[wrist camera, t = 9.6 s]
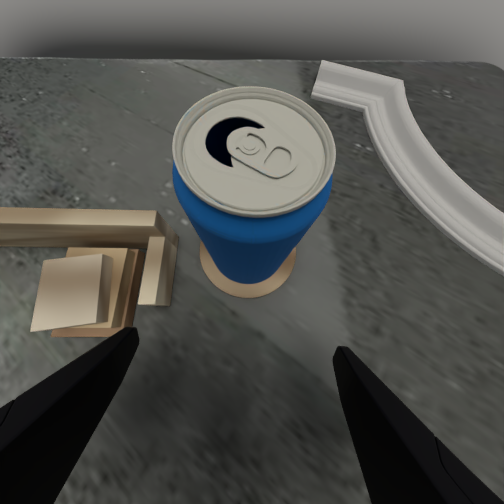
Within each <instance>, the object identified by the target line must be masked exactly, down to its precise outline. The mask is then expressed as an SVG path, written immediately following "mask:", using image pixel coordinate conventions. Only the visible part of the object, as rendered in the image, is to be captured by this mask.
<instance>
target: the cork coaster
mask: <svg viewBox="0 0 504 504" xmlns="http://www.w3.org/2000/svg"><path fill="white" fill-rule="evenodd" d="M295 258H296V247H295V248H294V249H293V250H292V252H291V253H290V254H289V255H288V257H287V258H286V259H285V261H284V262H283V263H282V265H281V266H280V267H279V269H278V270H277V271H276V272H275V273H274V274H273V275H272V276H271V277H270V278H268V279H266V280H264V281H262V282H259V283H255V284H241V283H237V282H235V281H232V280H230V279H228V278H227V277H226V276H224V275H223V274H222V273H221V272H220V271H219V269H218V268H217V266H216V265H215V263H214V261H213V260H212V258H211V256H210V254H209V253H208V251H207V249H206V247H205V246H204V244H203V242H202V240H201V244H200V260H201V264H202V267H203V269H204V272H205V273H206V275H207V277H208V278H209V279H210V280H211V282H212V283H213V284H214V285H215V286H217V287H218V288H219V289H220V290H222V291H224V292H226V293H227V294H230V295H233V296H236V297H241V298H255V297H260V296H264V295H266V294H269V293H271V292H273V291H274V290H276V289H277V288H278V287H280V286H281V285H282V284H283V283H284V282H285V281H286V279H287V278H288V277H289V275H290V273H291V271H292V269H293V267H294V263H295Z"/></svg>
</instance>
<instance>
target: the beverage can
mask: <svg viewBox="0 0 504 504" xmlns="http://www.w3.org/2000/svg"><path fill="white" fill-rule="evenodd" d="M172 149H173V157H174V162H173V184H174V188H175V193H176V195H177V198H178V200H179V202H180V204H181V206H182V207H183V209H184V211H185V213H186V214H187V216H188V218H189V219H190V221H191V223H192V225H193V226H194V228H195V230H196V232H197V233H198V235H199V237H200V239H201V240H202V242H203V244H204V246H205V247H206V249H207V251H208V253H209V254H210V256H211V258H212V260H213V261H214V263H215V265H216V266H217V268H218V269H219V271H220V272H221V273H222V274H223V275H224V276H226V277H227V278H228V279H230V280H232V281H235V282H237V283H241V284H255V283H259V282H262V281H264V280H266V279H268V278H270V277H271V276H272V275H273V274H274V273H275V272H276V271H277V270H278V269H279V267H280V266H281V265H282V263H283V262H284V261H285V259H286V258H287V257H288V255H289V254H290V253H291V252H292V250H293V249H294V248H295V246H296V245H297V244H298V242H299V241H300V240H301V238H302V237H303V236H304V234H305V233H306V232H307V231H308V229H309V228H310V227H311V225H312V224H313V223H314V221H315V220H316V219H317V217H318V216H319V215H320V213H321V212H322V210H323V209H324V207H325V205H326V203H327V201H328V198H329V195H330V191H331V186H332V172H333V168H334V165H335V158H336V150H335V143H334V139H333V136H332V134H331V131H330V129H329V128H328V126H327V124H326V123H325V121H324V120H323V119H322V117H321V116H320V115H319V114H318V113H317V112H316V111H315V110H314V109H313V108H311V107H310V106H309V105H308V104H306V103H305V102H303V101H302V100H300V99H298V98H296V97H294V96H292V95H290V94H287V93H285V92H282V91H279V90H275V89H270V88H265V87H255V86H245V87H235V88H229V89H225V90H221V91H218V92H216V93H213V94H211V95H209V96H207V97H205V98H203V99H201V100H200V101H198V102H197V103H195V104H194V105H193V106H192V107H191V108H190V109H189V110H188V111H187V112H186V113H185V114H184V115H183V117H182V118H181V120H180V121H179V123H178V125H177V128H176V130H175V133H174V137H173V145H172Z"/></svg>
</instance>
